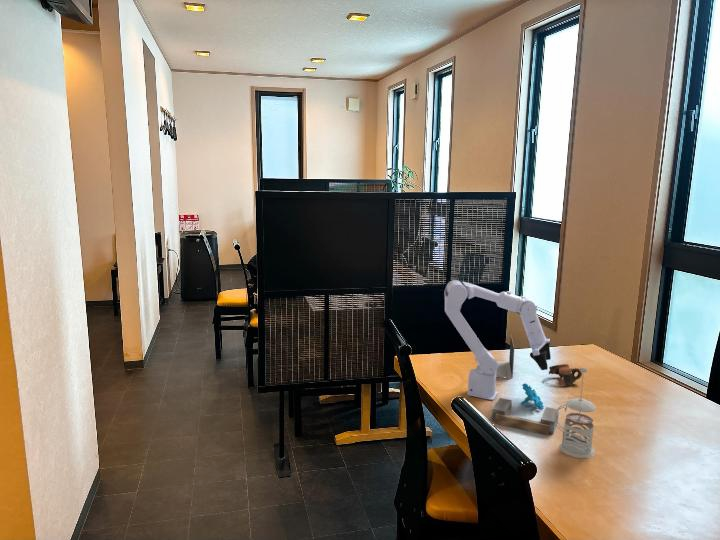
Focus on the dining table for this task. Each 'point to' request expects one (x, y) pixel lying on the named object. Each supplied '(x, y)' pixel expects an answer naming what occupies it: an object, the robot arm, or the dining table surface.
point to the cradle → (503, 418)
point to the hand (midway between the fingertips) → (546, 364)
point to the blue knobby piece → (532, 396)
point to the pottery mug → (565, 374)
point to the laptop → (506, 364)
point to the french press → (576, 443)
